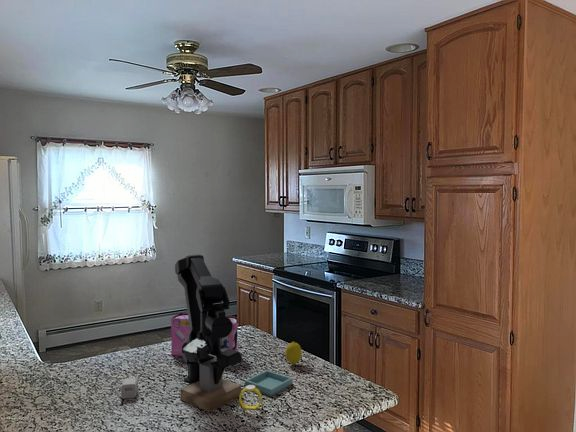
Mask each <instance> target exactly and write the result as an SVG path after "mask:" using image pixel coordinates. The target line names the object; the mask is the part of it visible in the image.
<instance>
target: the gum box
mask: <svg viewBox="0 0 576 432" xmlns="http://www.w3.org/2000/svg"><path fill="white" fill-rule="evenodd" d="M226 316H227V317H228V318H229V319H230V320H231V321H232V324H233V328H232V331H231V333H230V334H229V335H228V336H226V337H224V338H221V344H224V348H223V349H221V351H222V352H224V351H226V350H229V349H232V350H236V351H238V333H239V332H238V330H239V329H238V328H239V318H238V316H233V315H226ZM170 321H171V323H170V324H171V325H170V326H171V327H170V328H171V329H170V333H171V338H170V339H171V349H170V350H171V353H170V355H173V356H178V357H183V353H182V346H183V344H184V343H185V342H186V340H187V338H188V335H189V333H190V326H189V319H188V312H179V313H178V314H176V315H174V316H172V317H170ZM214 359H216V357H214Z"/></svg>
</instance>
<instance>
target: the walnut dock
mask: <svg viewBox="0 0 576 432" xmlns="http://www.w3.org/2000/svg"><path fill="white" fill-rule="evenodd" d="M179 389H180V400H181V401H184V402H185V403H189V404H191V405H194V406H195V407H198V408H200V409H202V410H205V411H207V412H213V411H215V410H216V409H219V408H220V407H222V406H225V405H227V404H228V403H230V402H232V401H234V400H235V399H236V400H237V399H239V396H240V393H241V392H242V385H241V384H238V383H235V382H232V381H229V380H226V379H224V378H222V386H221V387H219V388H217V389H215V390H213V391H211V392H208V391H205V390H203V389H200V381H197V382H195V383H193V384H192V383H189V384H188V385H186V386H184V387H181V388H179Z"/></svg>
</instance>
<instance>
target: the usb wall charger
mask: <svg viewBox="0 0 576 432" xmlns="http://www.w3.org/2000/svg"><path fill="white" fill-rule="evenodd" d="M138 389H139V378H138V377H130V378H128V377H127V378H124V379H123V381H122V383H121V387H120V397H121V399H132V398H133V399H135V398H136V396H137V393H138V391H139V390H138Z"/></svg>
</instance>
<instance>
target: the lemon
mask: <svg viewBox="0 0 576 432" xmlns="http://www.w3.org/2000/svg"><path fill="white" fill-rule="evenodd" d="M284 353H285V359H286V361H287V362H288V363H290V364H291V365H292V366H295V365H296V364H297V363H300V361H301V359H302V356H303V355H302V354H303V352H302V347H301V345H300V344H299V343H297V342H295V341H292V342H290V343H288V344H287V346H286V347H285V351H284Z"/></svg>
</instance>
